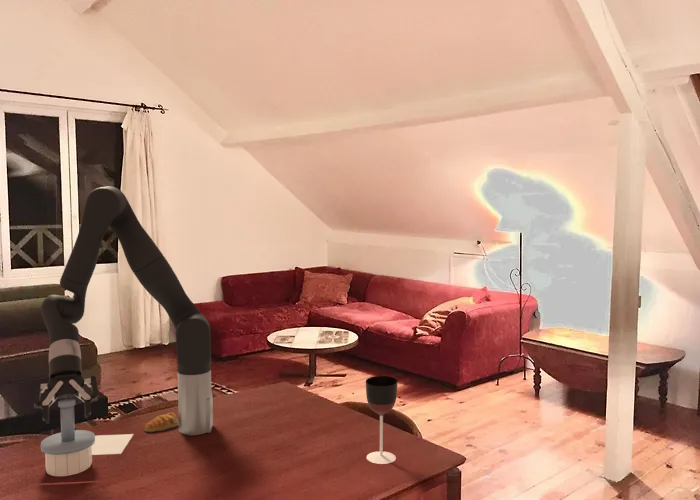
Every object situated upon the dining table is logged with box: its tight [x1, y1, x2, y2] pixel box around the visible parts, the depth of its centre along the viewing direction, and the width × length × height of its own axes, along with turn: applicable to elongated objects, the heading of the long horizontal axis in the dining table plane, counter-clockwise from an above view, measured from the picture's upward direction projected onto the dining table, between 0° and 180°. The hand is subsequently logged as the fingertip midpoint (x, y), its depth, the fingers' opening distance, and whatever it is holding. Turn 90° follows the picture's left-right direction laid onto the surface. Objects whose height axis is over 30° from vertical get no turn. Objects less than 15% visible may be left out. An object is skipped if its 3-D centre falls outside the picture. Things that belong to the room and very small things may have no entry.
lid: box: [40, 398, 96, 455], centre depth 144 cm, size 12×12×11 cm
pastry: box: [143, 412, 179, 433], centre depth 171 cm, size 9×7×4 cm
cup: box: [44, 446, 93, 477], centre depth 145 cm, size 10×10×6 cm
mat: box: [92, 433, 135, 456], centre depth 158 cm, size 13×13×1 cm
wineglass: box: [365, 375, 398, 465], centre depth 150 cm, size 8×9×20 cm
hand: (67, 419), depth 143 cm, fingers open, 8 cm apart
